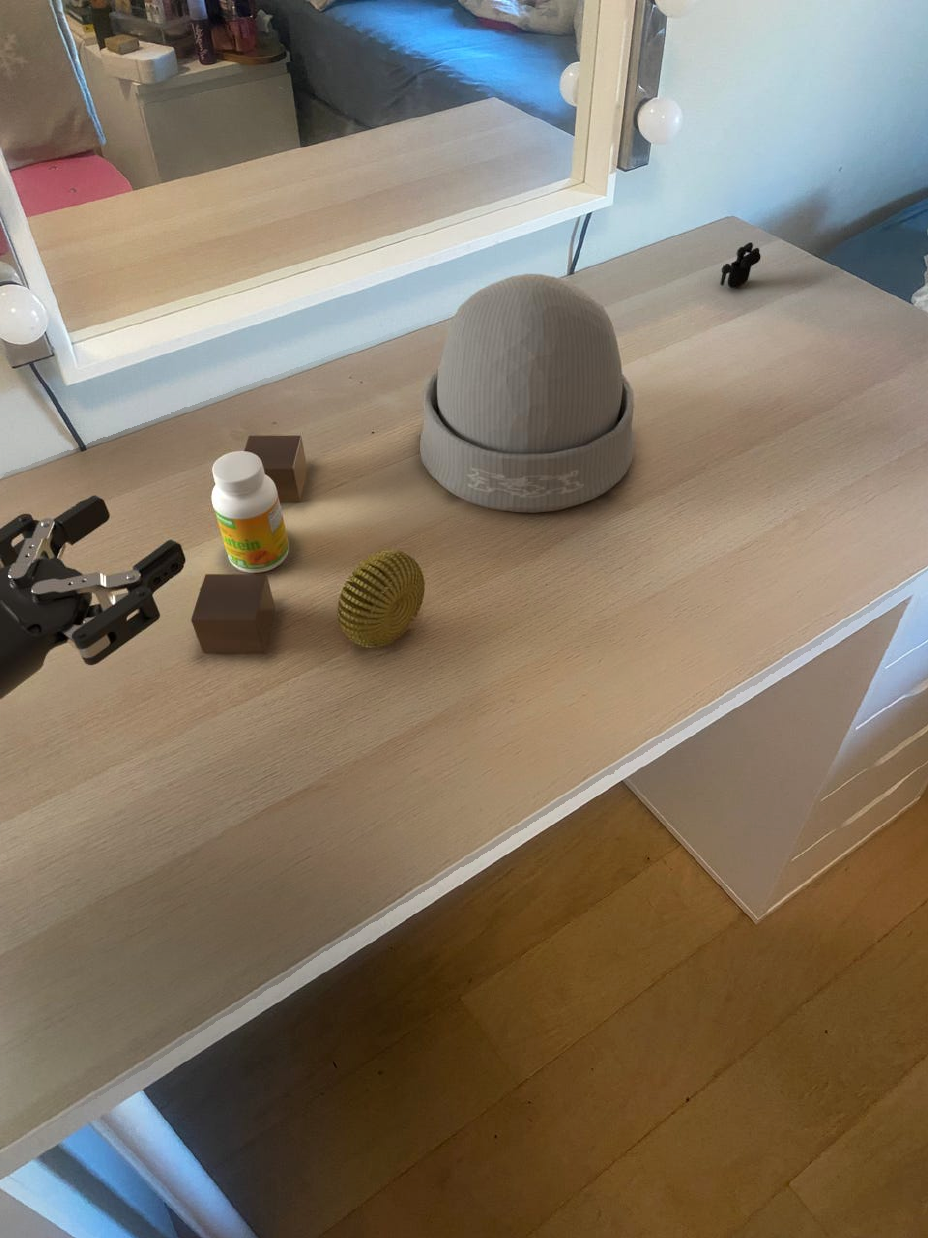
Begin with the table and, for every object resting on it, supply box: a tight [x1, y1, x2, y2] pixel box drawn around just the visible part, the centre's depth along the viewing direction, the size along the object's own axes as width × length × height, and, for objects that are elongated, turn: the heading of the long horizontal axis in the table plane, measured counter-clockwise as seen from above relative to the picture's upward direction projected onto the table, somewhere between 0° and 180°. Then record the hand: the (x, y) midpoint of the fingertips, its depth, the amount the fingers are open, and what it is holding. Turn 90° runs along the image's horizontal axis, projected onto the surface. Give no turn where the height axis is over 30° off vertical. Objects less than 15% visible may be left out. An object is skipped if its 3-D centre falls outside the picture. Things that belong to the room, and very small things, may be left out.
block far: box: [243, 435, 308, 503], centre depth 84 cm, size 5×5×4 cm
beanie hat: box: [419, 273, 636, 514], centre depth 83 cm, size 21×21×20 cm
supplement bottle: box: [211, 450, 290, 574], centre depth 75 cm, size 5×5×10 cm
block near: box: [190, 573, 276, 655], centre depth 71 cm, size 5×5×4 cm
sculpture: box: [337, 550, 426, 649], centre depth 69 cm, size 8×4×8 cm, turn 140°
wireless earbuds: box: [719, 241, 762, 289], centre depth 107 cm, size 7×2×5 cm, turn 132°
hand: (140, 527), depth 66 cm, fingers open, 8 cm apart
